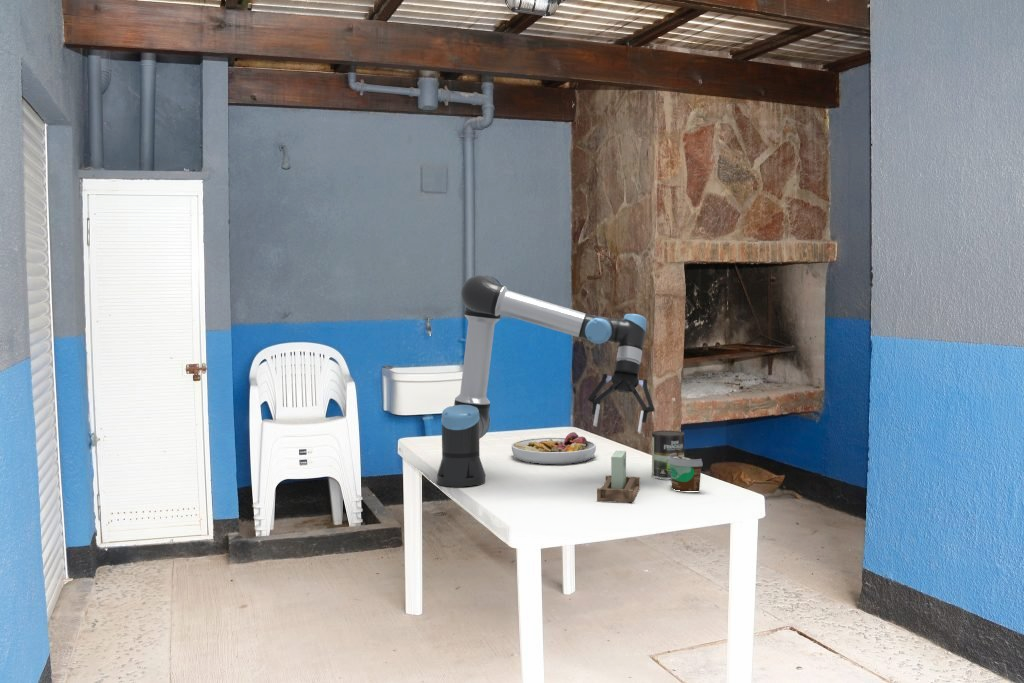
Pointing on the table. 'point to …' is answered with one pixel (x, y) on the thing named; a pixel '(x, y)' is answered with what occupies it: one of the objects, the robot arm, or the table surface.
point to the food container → (685, 472)
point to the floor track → (619, 490)
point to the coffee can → (665, 451)
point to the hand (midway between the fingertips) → (616, 429)
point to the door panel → (618, 470)
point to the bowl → (554, 450)
